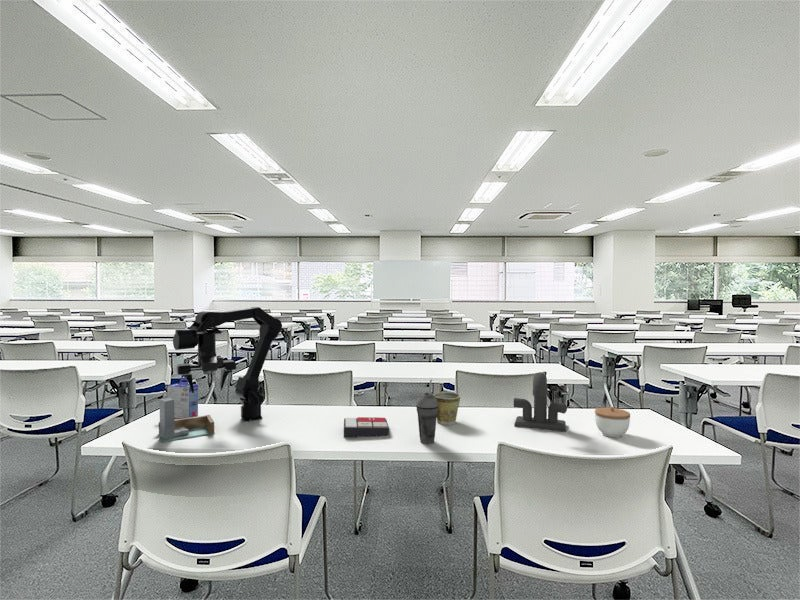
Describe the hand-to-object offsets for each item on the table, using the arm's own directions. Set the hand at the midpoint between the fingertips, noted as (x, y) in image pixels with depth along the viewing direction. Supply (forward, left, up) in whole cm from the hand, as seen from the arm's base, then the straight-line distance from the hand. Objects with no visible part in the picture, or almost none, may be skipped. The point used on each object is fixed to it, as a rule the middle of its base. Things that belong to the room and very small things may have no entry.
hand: (207, 391), depth 154 cm
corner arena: (+7, +3, -13) cm, 15 cm away
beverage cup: (-58, +52, -13) cm, 79 cm away
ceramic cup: (-77, +38, -13) cm, 87 cm away
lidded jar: (-115, +79, -13) cm, 140 cm away
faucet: (-99, +62, -13) cm, 118 cm away
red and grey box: (-46, +33, -14) cm, 58 cm away
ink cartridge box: (+6, -20, -13) cm, 25 cm away
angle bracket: (+11, +4, -13) cm, 17 cm away
